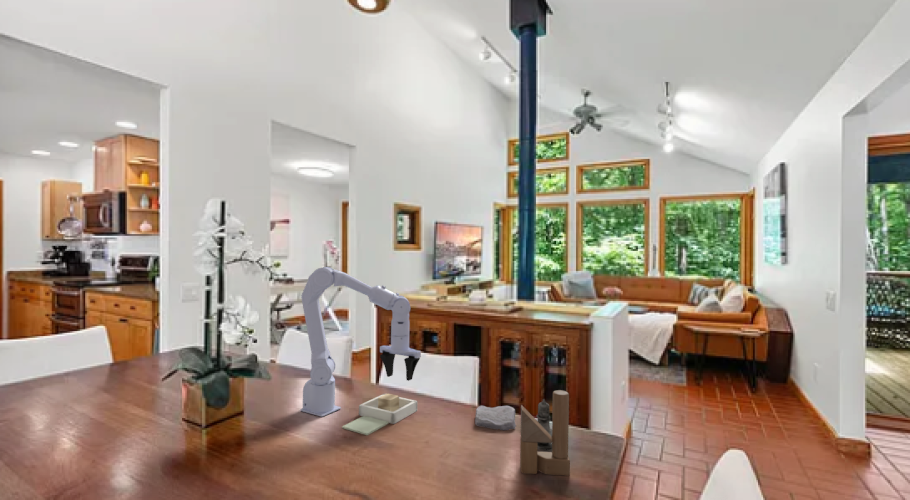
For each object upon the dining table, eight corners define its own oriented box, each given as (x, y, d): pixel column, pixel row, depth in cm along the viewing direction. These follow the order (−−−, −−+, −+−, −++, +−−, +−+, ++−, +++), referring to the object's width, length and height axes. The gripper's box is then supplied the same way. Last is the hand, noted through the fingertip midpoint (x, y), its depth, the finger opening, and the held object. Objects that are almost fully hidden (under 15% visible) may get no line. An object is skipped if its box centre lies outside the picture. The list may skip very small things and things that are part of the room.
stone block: (517, 437, 117) (515, 417, 127) (516, 422, 116) (515, 402, 126) (474, 437, 118) (475, 416, 128) (473, 421, 117) (475, 402, 127)
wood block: (378, 414, 128) (378, 397, 128) (387, 409, 132) (387, 393, 132) (389, 417, 126) (390, 400, 126) (398, 412, 130) (399, 395, 130)
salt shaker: (541, 452, 104) (542, 404, 104) (527, 443, 110) (527, 396, 110) (559, 448, 107) (560, 400, 107) (544, 438, 112) (545, 393, 112)
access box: (358, 415, 127) (359, 405, 127) (384, 402, 137) (384, 393, 137) (393, 424, 120) (393, 413, 121) (417, 410, 131) (417, 401, 131)
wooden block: (519, 465, 98) (520, 388, 98) (567, 468, 97) (568, 389, 97) (521, 474, 94) (522, 393, 94) (570, 476, 93) (571, 395, 93)
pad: (342, 428, 117) (342, 426, 117) (364, 417, 125) (364, 415, 125) (367, 435, 113) (367, 433, 113) (388, 423, 121) (388, 421, 121)
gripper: (426, 335, 134) (425, 378, 134) (389, 330, 141) (388, 371, 141) (413, 339, 128) (413, 384, 128) (376, 333, 135) (375, 376, 135)
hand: (399, 377), depth 134 cm, fingers open, 7 cm apart
